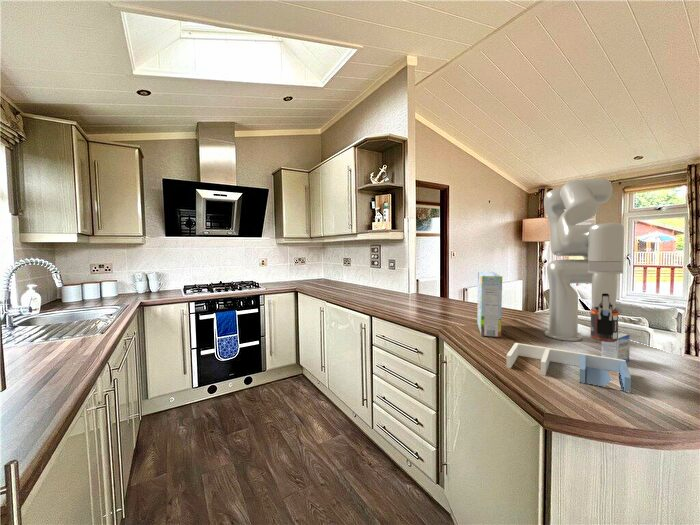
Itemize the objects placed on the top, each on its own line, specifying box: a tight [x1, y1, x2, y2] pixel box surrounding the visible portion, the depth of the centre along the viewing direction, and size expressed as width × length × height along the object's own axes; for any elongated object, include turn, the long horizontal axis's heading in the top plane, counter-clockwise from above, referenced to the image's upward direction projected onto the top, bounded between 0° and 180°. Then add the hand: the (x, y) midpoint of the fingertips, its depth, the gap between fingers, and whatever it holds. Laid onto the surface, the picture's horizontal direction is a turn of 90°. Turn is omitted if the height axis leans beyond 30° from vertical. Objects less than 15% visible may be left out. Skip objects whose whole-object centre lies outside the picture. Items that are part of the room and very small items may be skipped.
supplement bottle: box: [590, 306, 619, 342], centre depth 85 cm, size 6×6×11 cm
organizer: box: [505, 342, 632, 392], centre depth 92 cm, size 15×29×4 cm, turn 52°
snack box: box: [476, 271, 503, 338], centre depth 135 cm, size 22×9×26 cm, turn 161°
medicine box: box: [601, 332, 631, 362], centre depth 97 cm, size 8×4×9 cm, turn 117°
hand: (604, 330), depth 85 cm, fingers closed on supplement bottle, 6 cm apart
